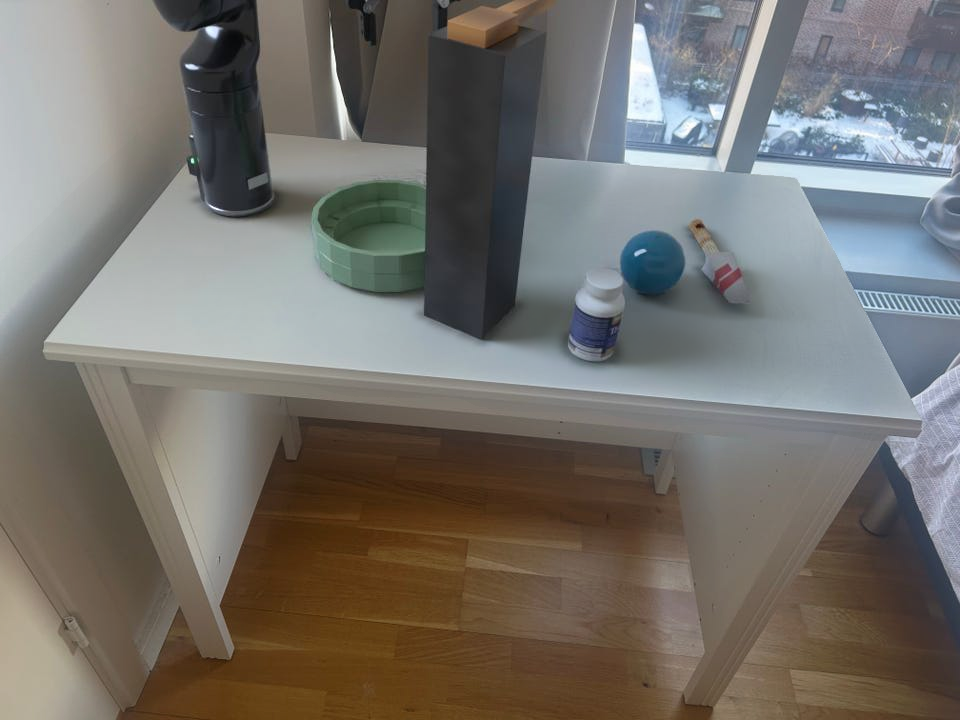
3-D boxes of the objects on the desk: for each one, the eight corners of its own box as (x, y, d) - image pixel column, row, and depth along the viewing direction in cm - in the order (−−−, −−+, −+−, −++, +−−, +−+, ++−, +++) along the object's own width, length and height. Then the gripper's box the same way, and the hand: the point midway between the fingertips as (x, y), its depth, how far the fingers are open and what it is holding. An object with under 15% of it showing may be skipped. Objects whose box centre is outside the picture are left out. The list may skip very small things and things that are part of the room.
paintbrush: (728, 292, 90) (685, 215, 105) (722, 311, 91) (681, 232, 107) (759, 293, 90) (712, 216, 106) (753, 312, 92) (707, 233, 107)
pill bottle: (612, 367, 83) (629, 296, 76) (564, 358, 83) (577, 287, 77) (615, 337, 87) (631, 268, 80) (569, 329, 87) (582, 260, 81)
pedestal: (423, 315, 88) (428, 34, 67) (459, 283, 93) (473, 14, 72) (481, 340, 85) (505, 54, 64) (515, 305, 90) (546, 32, 69)
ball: (687, 288, 96) (703, 234, 90) (658, 315, 91) (674, 260, 85) (633, 264, 99) (645, 211, 94) (602, 289, 94) (614, 235, 89)
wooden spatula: (485, 49, 65) (486, 30, 64) (446, 39, 66) (447, 20, 65) (564, 8, 75) (566, -9, 74) (530, 0, 77) (531, -16, 76)
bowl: (285, 263, 94) (279, 222, 90) (373, 205, 106) (372, 166, 103) (405, 315, 87) (405, 273, 84) (485, 247, 100) (488, 207, 96)
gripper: (449, -121, 85) (447, 27, 96) (328, -120, 80) (339, 36, 91) (475, -109, 80) (469, 46, 91) (347, -107, 75) (357, 56, 86)
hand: (404, 41), depth 91 cm, fingers open, 8 cm apart
